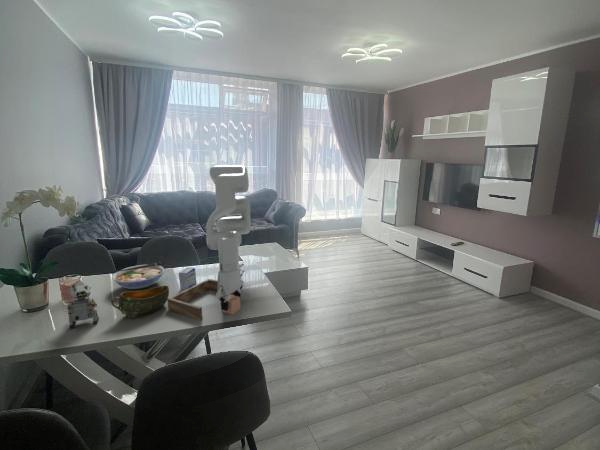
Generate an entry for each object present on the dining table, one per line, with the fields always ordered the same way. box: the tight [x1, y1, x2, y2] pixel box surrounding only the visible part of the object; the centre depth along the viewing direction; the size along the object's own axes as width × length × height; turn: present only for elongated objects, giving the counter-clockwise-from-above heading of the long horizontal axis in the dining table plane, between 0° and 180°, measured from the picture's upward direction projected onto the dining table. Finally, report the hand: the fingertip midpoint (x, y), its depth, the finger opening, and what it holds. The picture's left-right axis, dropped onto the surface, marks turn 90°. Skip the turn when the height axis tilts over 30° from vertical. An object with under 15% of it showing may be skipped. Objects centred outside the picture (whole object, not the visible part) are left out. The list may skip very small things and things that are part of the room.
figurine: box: [66, 282, 100, 330], centre depth 123 cm, size 9×12×15 cm
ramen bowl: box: [108, 261, 165, 290], centre depth 157 cm, size 25×23×8 cm
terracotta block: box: [221, 294, 242, 315], centre depth 133 cm, size 6×6×6 cm
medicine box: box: [178, 266, 197, 291], centre depth 156 cm, size 8×4×9 cm, turn 168°
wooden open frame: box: [166, 278, 234, 321], centre depth 140 cm, size 24×18×5 cm
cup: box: [110, 285, 170, 319], centre depth 132 cm, size 13×20×10 cm, turn 107°
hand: (231, 305), depth 133 cm, fingers open, 7 cm apart
